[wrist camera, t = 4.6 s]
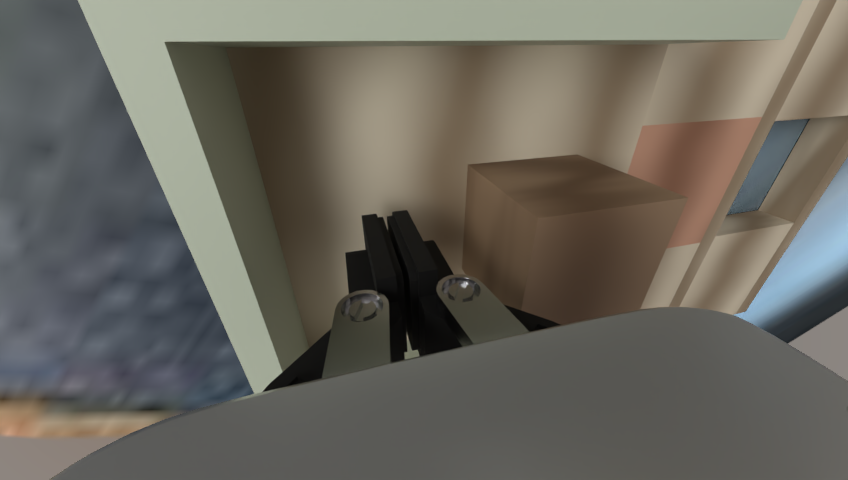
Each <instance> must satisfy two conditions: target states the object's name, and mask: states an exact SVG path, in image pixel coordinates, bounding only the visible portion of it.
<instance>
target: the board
mask: <svg viewBox="0 0 848 480" xmlns="http://www.w3.org/2000/svg"><path fill="white" fill-rule="evenodd" d="M226 51H227V54H228V58H229V61H230V65H231V69H232V72H233V76H234V79H235V83H236V87H237V90H238V94H239V97H240V101H241V105H242V108H243V112H244V115H245V119H246V123H247V126H248V130H249V133H250V137H251V141H252V144H253V148H254V151H255V155H256V159H257V162H258V166H259V169H260V173H261V177H262V180H263V184H264V187H265V191H266V195H267V198H268V202H269V205H270V209H271V213H272V216H273V220H274V223H275V227H276V231H277V234H278V238H279V241H280V245H281V249H282V252H283V256H284V259H285V263H286V267H287V270H288V274H289V277H290V281H291V284H292V288H293V292H294V295H295V299H296V302H297V306H298V310H299V313H300V317H301V320H302V324H303V328H304V331H305V335H306V338H307V342H308V346H309V348H310V347H311V346H312V345H313V344H314V343H316V342H317V341H318V340H319V339H320V338H321V337H322V336H323V335H324V334H326V333H327V332H328V331H329V330H330V329H331V328H332V323H333V318H334V313H335V308H336V306H337V303H338V302H339V301H340V300H341V299H342V298H343V297H345V296H346V295H348V294H349V290H348V279H347V268H346V257H345V252H352V251H359V250H366V249H365V241H364V232H363V224H362V215H369V214H377V216H378V217H383V218H384V221H385V224H386V227H387V230H388V225H387V216H392V212H394V211H403V210H407V211H408V213H409V214H410V216H411V218H412V220H413V222H414V224H415V226H416V228H417V230H418V232H419V234H420V236H421V237H422V239H423V241H429V240H434V241H435V243H436V244H437V246H438V248H439V250H440V251H441V253H442V255H443V256H444V258H445V260H446V262H447V263H448V265H449V267H450V268H451V270H452V272H453V274H454V275H455V274H464V275H466V274H465V273H464V271H463V270H462V257H463V239H464V222H465V205H466V188H467V171H468V164H479V163H489V162H500V161H511V160H522V159H533V158H544V157H555V156H565V155H576V154H578V155H580V156H583V157H585V158H588V159H590V160H593V161H596V162H598V163H601V164H603V165H606V166H608V167H611V168H614V169H616V170H619V171H621V172H624V173H626V174H629V175H632V176H634V177H637V178H639V179H642V180H644V181H647V182H649V183H652V184H655V185H657V186H660V187H662V188H665V189H667V190H670V191H673V192H675V193H678V194H680V195H683V196H685V197H688V200H687V202H686V205H685V207H684V209H683V212H682V214H681V216H680V218H679V221H678V223H677V225H676V228H675V230H674V232H673V235H672V237H671V239H670V241H669V244H668V246H667V248H666V251H665V253H664V255H663V257H662V260H661V262H660V264H659V267H658V269H657V271H656V274H655V276H654V278H653V280H652V283H651V285H650V287H649V290H648V292H647V294H646V297H645V299H644V301H643V303H642V306H641V308H640V309H647V308H657V307H690V308H701V309H708V310H714V311H719V312H723V313H727V314H731V315H733V314H737V313H741V312H745V311H746V310H747V309H748V307H749V305H750V304H751V302H752V301H753V299H754V298H755V296H756V295H757V293H758V292H759V290H760V289H761V287H762V286H763V284H764V283H765V281H766V280H767V278H768V277H769V275H770V274H771V272H772V271H773V269H774V267H775V266H776V264H777V263H778V261H779V260H780V258H781V257H782V255H783V254H784V252H785V251H786V249H787V248H788V246H789V245H790V243H791V242H792V240H793V239H794V237H795V236H796V234H797V233H798V231H799V230H800V228H801V226H802V225H803V223H804V222H805V220H806V219H807V217H808V216H809V214H810V213H811V211H812V210H813V208H814V207H815V205H816V204H817V202H818V201H819V199H820V198H821V196H822V195H823V193H824V192H825V190H826V189H827V187H828V185H829V184H830V182H831V181H832V179H833V178H834V176H835V175H836V173H837V172H838V170H839V169H840V167H841V166H842V164H843V163H844V161H845V160H846V158H847V157H848V0H803V1H802V3H801V5H800V7H799V9H798V11H797V13H796V15H795V18H794V20H793V22H792V24H791V26H790V28H789V30H788V32H787V35H786V37H785V39H784V40H760V41H734V42H707V43H681V44H643V45H500V46H356V47H226ZM809 118H810V120H809V121H808V123H807V125H806V127H805V129H804V130H803V132H802V134H801V136H800V137H799V139H798V141H797V143H796V144H795V146H794V148H793V150H792V152H791V153H790V155H789V157H788V159H787V160H786V162H785V164H784V166H783V167H782V169H781V171H780V173H779V175H778V176H777V178H776V180H775V182H774V183H773V185H772V187H771V189H770V190H769V192H768V194H767V196H766V198H765V199H764V201H763V203H762V205H761V206H760V208H759V210H756V211H750V212H743V213H737V214H731V215H727V213H728V211H729V209H730V207H731V205H732V203H733V201H734V199H735V197H736V195H737V194H738V192H739V190H740V188H741V186H742V184H743V182H744V180H745V178H746V176H747V174H748V172H749V170H750V168H751V166H752V164H753V162H754V160H755V159H756V157H757V155H758V153H759V151H760V149H761V147H762V145H763V143H764V141H765V139H766V137H767V135H768V133H769V131H770V129H771V127H772V125H773V124H774V122H775V121H784V120H796V119H809ZM407 340H409V339H408V335H407Z"/></svg>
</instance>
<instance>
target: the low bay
mask: <svg viewBox="0 0 848 480" xmlns="http://www.w3.org/2000/svg"><path fill="white" fill-rule="evenodd" d="M802 1H803V0H78V2H79V4H80V6H81V8H82V11H83V13H84V15H85V17H86V20H87V22H88V24H89V26H90V29H91V31H92V33H93V35H94V37H95V40H96V42H97V44H98V46H99V49H100V51H101V53H102V55H103V57H104V60H105V62H106V64H107V66H108V69H109V71H110V73H111V75H112V78H113V80H114V82H115V84H116V86H117V89H118V91H119V93H120V95H121V98H122V100H123V102H124V104H125V107H126V109H127V111H128V113H129V115H130V118H131V120H132V122H133V124H134V127H135V129H136V131H137V133H138V135H139V138H140V140H141V142H142V144H143V147H144V149H145V151H146V153H147V156H148V158H149V160H150V162H151V164H152V167H153V169H154V171H155V173H156V176H157V178H158V180H159V182H160V184H161V187H162V189H163V191H164V193H165V196H166V198H167V200H168V202H169V205H170V207H171V209H172V211H173V213H174V216H175V218H176V220H177V222H178V225H179V227H180V229H181V231H182V234H183V236H184V238H185V240H186V242H187V245H188V247H189V249H190V251H191V254H192V256H193V258H194V260H195V262H196V265H197V267H198V269H199V271H200V274H201V276H202V278H203V280H204V283H205V285H206V287H207V289H208V291H209V294H210V296H211V298H212V300H213V303H214V305H215V307H216V309H217V311H218V314H219V316H220V318H221V320H222V323H223V325H224V327H225V329H226V332H227V334H228V336H229V338H230V340H231V343H232V345H233V347H234V349H235V352H236V354H237V356H238V358H239V360H240V363H241V365H242V367H243V369H244V372H245V374H246V376H247V378H248V381H249V383H250V385H251V387H252V389H253V392H254V394H256V393H261V392H263V390H264V389H265V388H266V387H267V386H268V385H269V384H270V383H271V382H272V381H273V380H274V379H275V378H276V377H278V376H279V375H280V374H281V373H282V372H283V371H284V370H285V369H286V368H288V367H289V366H290V365H291V364H292V363H293V362H294V361H295V360H297V359H298V358H299V357H300V356H301V355H302V354H303V353H304V352H305V351H307V350H308V349H309V346H308V342H307V338H306V335H305V331H304V328H303V324H302V320H301V317H300V313H299V310H298V306H297V302H296V299H295V295H294V292H293V288H292V284H291V281H290V277H289V274H288V270H287V267H286V263H285V259H284V256H283V252H282V249H281V245H280V241H279V238H278V234H277V231H276V227H275V223H274V220H273V216H272V213H271V209H270V205H269V202H268V198H267V195H266V191H265V187H264V184H263V180H262V177H261V173H260V169H259V166H258V162H257V159H256V155H255V151H254V148H253V144H252V141H251V137H250V133H249V130H248V126H247V123H246V119H245V115H244V112H243V108H242V105H241V101H240V97H239V94H238V90H237V87H236V83H235V79H234V76H233V72H232V69H231V65H230V61H229V58H228V54H227V51H226V47H356V46H500V45H643V44H681V43H707V42H734V41H760V40H784V39H785V37H786V35H787V32H788V30H789V28H790V26H791V24H792V22H793V20H794V18H795V15H796V13H797V11H798V9H799V7H800V5H801V3H802ZM404 354H405V359H410V358H414V357H419V352H418V350H414V351H412V349H411V346H410V342H409V340H407V352H404Z"/></svg>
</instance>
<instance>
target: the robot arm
mask: <svg viewBox="0 0 848 480" xmlns="http://www.w3.org/2000/svg"><path fill="white" fill-rule="evenodd" d="M362 224H363V232H364V241H365V249H366V250H359V251H352V252H345V257H346V268H347V279H348V290H349V294H348V295H346V296H345V297H343V298H342V299H341V300H340V301H339V302H338V303H337V306H336V308H335V313H334V318H333V323H332V328H331V329H330V330H329V331H328V332H327V333H326V334H324V335H323V336H322V337H321V338H320V339H319V340H318V341H317V342H316V343H314V344H313V345H312V346H311V347H310V348H309V349H308V350H307V351H305V352H304V353H303V354H302V355H301V356H300V357H299V358H298V359H297V360H295V361H294V362H293V363H292V364H291V365H290V366H289V367H288V368H286V369H285V370H284V371H283V372H282V373H281V374H280V375H279V376H278V377H276V378H275V379H274V380H273V381H272V382H271V383H270V384H269V385H268V386H267V387H266V388H265V389H264V390H263V392H261V393H256V394H252V395H249V396H245V397H241V398H237V399H233V400H229V401H226V402H222V403H218V404H214V405H210V406H206V407H203V408H199V409H195V410H192V411H189V412H186V413H183V414H180V415H177V416H174V417H171V418H168V419H165V420H162V421H160V422H157V423H155V424H152V425H150V426H147V427H145V428H143V429H140V430H138V431H135V432H133V433H130V434H128V435H126V436H124V437H122V438H120V439H118V440H116V441H114V442H112V443H111V444H109V445H107V446H105V447H103V448H101V449H99V450H97V451H95V452H93V453H91V454H89V455H88V456H86V457H84V458H82V459H81V460H79V461H77V462H76V463H74V464H72V465H71V466H69V467H68V468H66V469H65V470H63V471H62V472H60V473H59V474H57V475H55V476H54V477H52V478H51V479H50V480H848V381H847V380H845V379H844V378H842V377H840V376H839V375H837V374H836V373H834V372H833V371H831V370H829V369H828V368H826V367H825V366H823V365H821V364H820V363H818V362H817V361H815V360H813V359H812V358H810V357H809V356H807V355H805V354H804V353H802V352H800V351H799V350H797V349H795V348H794V347H792V346H790V345H789V344H787V343H785V342H784V341H782V340H780V339H779V338H777V337H775V336H773V335H772V334H770V333H768V332H766V331H764V330H762V329H761V328H759V327H757V326H755V325H753V324H751V323H749V322H747V321H745V320H743V319H741V318H739V317H736V316H734V315H731V314H727V313H723V312H719V311H714V310H708V309H701V308H690V307H657V308H647V309H639V310H634V311H628V312H623V313H617V314H612V315H606V316H602V317H597V318H592V319H588V320H583V321H578V322H574V323H569V324H564V325H560V324H558V323H556V322H554V321H551V320H548V319H545V318H542V317H539V316H536V315H533V314H530V313H527V312H524V311H521V310H519V309H516V308H513V307H510V306H507V305H504V304H502V303H501V302H500V300H499V299H498V298H497V297H496V296H495V295H494V294H493V293H492V292H491V291H490V290H489V289H488V288H487V287H486V286H485V285H484V284H483V283H482V282H481V281H480V280H478V279H477V278H474V277H472V276H469V275H464V274H455V275H454V274H453V272H452V270H451V268H450V267H449V265H448V263H447V262H446V260H445V258H444V256H443V255H442V253H441V251H440V250H439V248H438V246H437V244H436V243H435V241H434V240H429V241H423V239H422V237H421V236H420V234H419V232H418V230H417V228H416V226H415V224H414V222H413V220H412V218H411V216H410V214H409V213H408V211H407V210H403V211H394V212H392V216H387V225H388V230H387V227H386V224H385V221H384V218H383V217H378V216H377V214H369V215H362ZM407 335H408V339H409V342H410V346H411V349H412V351H414V350H418V352H419V357H414V358H410V359H405V354H404V352H407Z"/></svg>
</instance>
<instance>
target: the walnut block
mask: <svg viewBox="0 0 848 480" xmlns="http://www.w3.org/2000/svg"><path fill="white" fill-rule="evenodd" d="M687 200H688V197H685V196H683V195H680V194H678V193H675V192H673V191H670V190H667V189H665V188H662V187H660V186H657V185H655V184H652V183H649V182H647V181H644V180H642V179H639V178H637V177H634V176H632V175H629V174H626V173H624V172H621V171H619V170H616V169H614V168H611V167H608V166H606V165H603V164H601V163H598V162H596V161H593V160H590V159H588V158H585V157H583V156H580V155H578V154H576V155H565V156H555V157H544V158H533V159H522V160H511V161H500V162H489V163H479V164H468V171H467V188H466V205H465V222H464V239H463V257H462V270H463V271H464V273H465V274H466V275H469V276H472V277H474V278H477V279H478V280H480V281H481V282H482V283H483V284H484V285H485V286H486V287H487V288H488V289H489V290H490V291H491V292H492V293H493V294H494V295H495V296H496V297H497V298H498V299H499V300H500V302H501V303H502V304H504V305H507V306H510V307H513V308H516V309H519V310H521V311H524V312H527V313H530V314H533V315H536V316H539V317H542V318H545V319H548V320H551V321H554V322H556V323H558V324H560V325H564V324H569V323H574V322H578V321H583V320H588V319H592V318H597V317H602V316H606V315H612V314H617V313H623V312H628V311H634V310H639V309H640V308H641V306H642V303H643V301H644V299H645V297H646V294H647V292H648V290H649V287H650V285H651V283H652V280H653V278H654V276H655V274H656V271H657V269H658V267H659V264H660V262H661V260H662V257H663V255H664V253H665V251H666V248H667V246H668V244H669V241H670V239H671V237H672V235H673V232H674V230H675V228H676V225H677V223H678V221H679V218H680V216H681V214H682V212H683V209H684V207H685V205H686V202H687Z"/></svg>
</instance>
